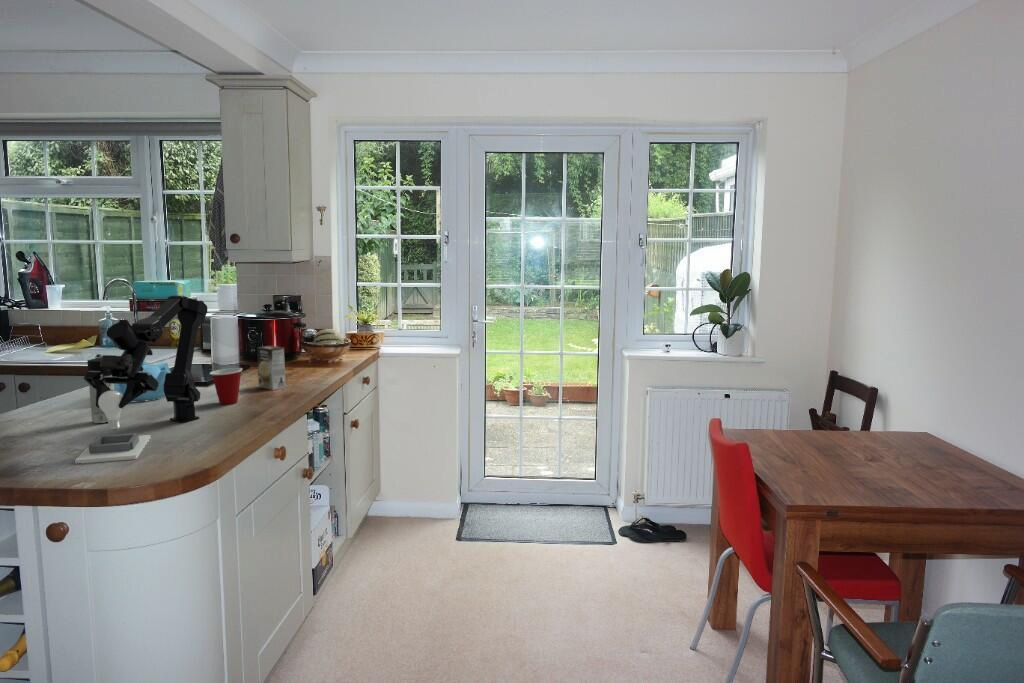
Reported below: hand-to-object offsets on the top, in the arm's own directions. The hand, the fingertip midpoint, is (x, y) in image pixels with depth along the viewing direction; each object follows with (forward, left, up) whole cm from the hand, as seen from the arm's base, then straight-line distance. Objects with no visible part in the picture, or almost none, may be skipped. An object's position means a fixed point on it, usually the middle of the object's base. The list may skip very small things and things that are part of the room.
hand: (108, 407), depth 183 cm
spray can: (-33, +16, -13) cm, 39 cm away
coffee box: (-30, +79, -13) cm, 86 cm away
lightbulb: (0, +1, -7) cm, 7 cm away
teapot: (-55, +42, -13) cm, 71 cm away
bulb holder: (0, +1, -12) cm, 12 cm away
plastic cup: (-22, +53, -13) cm, 59 cm away
